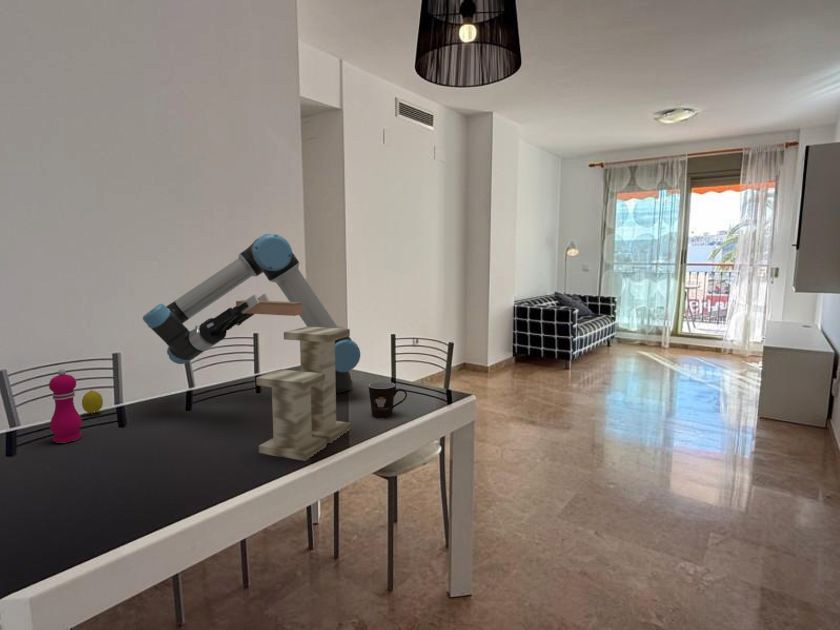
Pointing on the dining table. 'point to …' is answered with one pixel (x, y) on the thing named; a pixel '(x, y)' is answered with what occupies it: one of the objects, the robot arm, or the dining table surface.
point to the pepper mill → (64, 408)
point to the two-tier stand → (305, 397)
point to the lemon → (92, 402)
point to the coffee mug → (383, 398)
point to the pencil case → (275, 308)
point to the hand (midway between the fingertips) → (261, 298)
